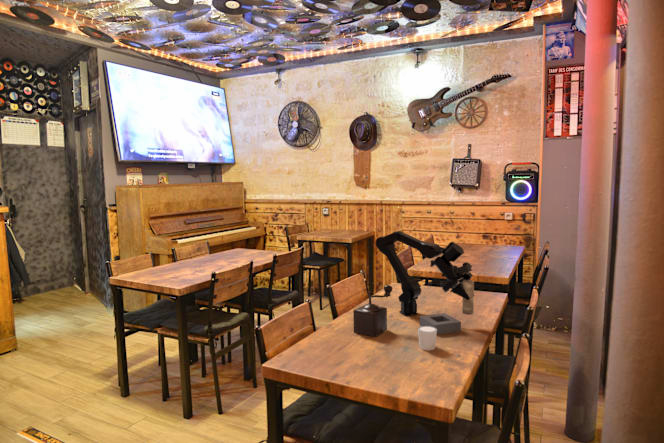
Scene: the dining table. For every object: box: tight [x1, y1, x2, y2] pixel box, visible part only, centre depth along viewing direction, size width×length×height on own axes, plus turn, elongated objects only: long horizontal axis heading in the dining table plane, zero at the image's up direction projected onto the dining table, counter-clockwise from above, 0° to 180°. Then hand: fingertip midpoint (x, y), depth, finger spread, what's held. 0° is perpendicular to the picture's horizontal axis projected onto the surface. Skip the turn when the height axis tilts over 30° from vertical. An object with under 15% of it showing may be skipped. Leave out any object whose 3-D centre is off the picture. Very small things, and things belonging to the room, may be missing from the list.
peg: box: [461, 280, 475, 316], centre depth 175 cm, size 4×4×14 cm
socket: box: [419, 312, 462, 336], centre depth 174 cm, size 12×12×4 cm
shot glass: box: [417, 326, 437, 351], centre depth 154 cm, size 7×7×7 cm
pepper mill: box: [352, 284, 393, 338], centre depth 174 cm, size 16×11×18 cm
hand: (471, 298), depth 174 cm, fingers closed on peg, 4 cm apart
